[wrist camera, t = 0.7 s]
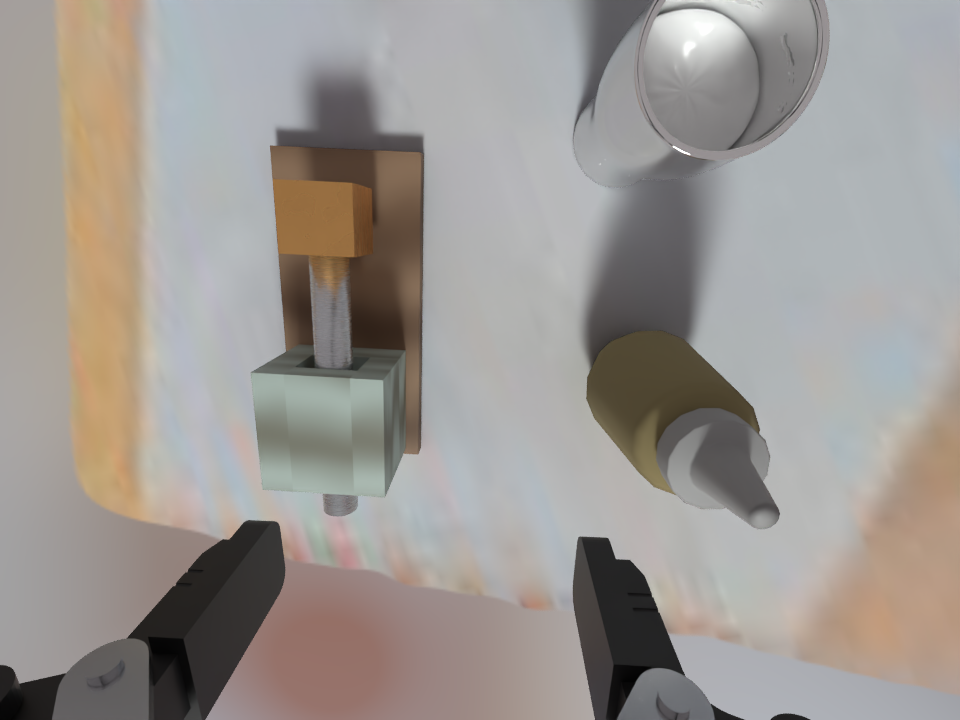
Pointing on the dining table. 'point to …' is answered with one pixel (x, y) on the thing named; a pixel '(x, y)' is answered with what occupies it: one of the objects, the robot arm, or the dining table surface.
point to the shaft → (327, 268)
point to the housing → (375, 339)
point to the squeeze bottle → (682, 425)
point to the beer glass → (701, 87)
